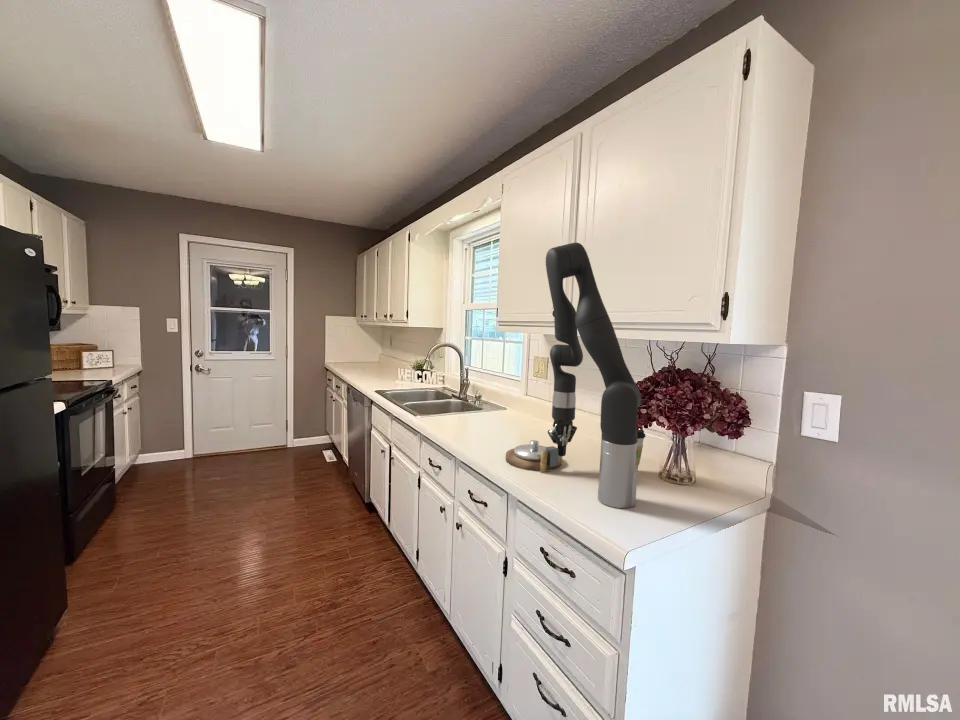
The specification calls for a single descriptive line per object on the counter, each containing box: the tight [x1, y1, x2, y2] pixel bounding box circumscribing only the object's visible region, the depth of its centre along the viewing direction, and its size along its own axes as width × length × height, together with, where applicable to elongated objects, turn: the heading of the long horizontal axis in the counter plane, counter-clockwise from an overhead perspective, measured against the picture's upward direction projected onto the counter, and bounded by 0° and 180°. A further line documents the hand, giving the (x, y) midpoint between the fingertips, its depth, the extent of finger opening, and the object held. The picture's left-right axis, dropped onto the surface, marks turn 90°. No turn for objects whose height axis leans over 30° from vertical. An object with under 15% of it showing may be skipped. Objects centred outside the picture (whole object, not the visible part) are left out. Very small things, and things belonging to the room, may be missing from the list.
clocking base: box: [505, 447, 563, 474], centre depth 139 cm, size 20×22×7 cm
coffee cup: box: [635, 429, 646, 472], centre depth 132 cm, size 10×10×15 cm
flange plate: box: [513, 439, 559, 466], centre depth 138 cm, size 20×14×6 cm
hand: (561, 455), depth 132 cm, fingers closed
